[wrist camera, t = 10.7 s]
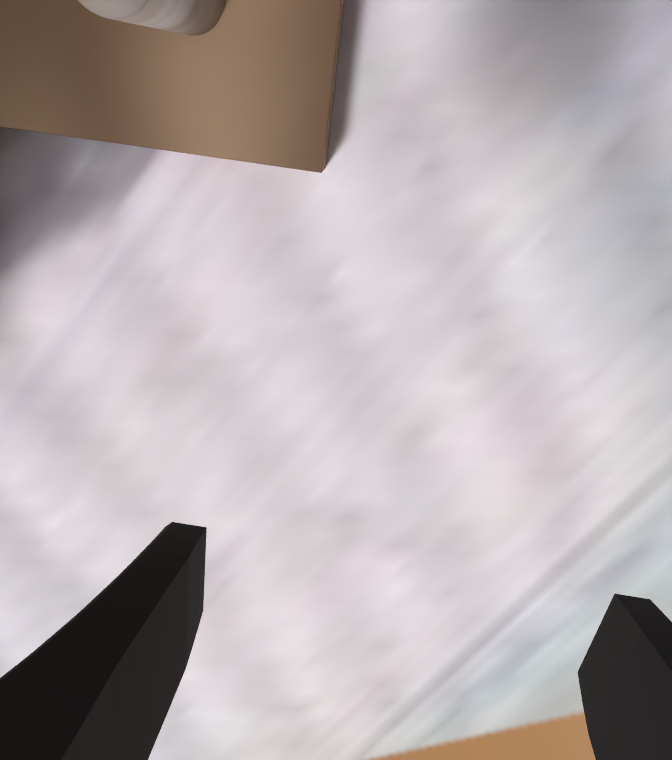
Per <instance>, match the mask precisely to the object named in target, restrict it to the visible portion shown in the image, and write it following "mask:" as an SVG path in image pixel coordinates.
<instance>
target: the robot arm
mask: <svg viewBox="0 0 672 760" xmlns="http://www.w3.org/2000/svg"><path fill="white" fill-rule="evenodd" d="M205 551H206V527H200V526H194V525H187V524H181V523H175V522H172V523H170V524H169V525H167V526H166V527H165V528H164V529H163V530H162V531H161V532H160V533H159V534H158V536H157V537H156V538H155V539H154V540H153V541H152V542H151V543H150V544H149V545H148V546H147V547H146V548H145V549H144V550H143V551H142V552H141V553H140V555H139V556H138V557H137V558H136V559H135V560H134V561H133V562H132V563H131V564H130V565H129V566H128V567H127V568H126V569H125V570H124V571H123V572H122V573H121V574H120V575H119V576H118V577H117V578H116V579H114V580H113V581H112V582H111V583H110V584H109V585H108V586H107V587H106V588H105V589H104V590H103V591H102V592H101V593H100V594H99V595H97V596H96V597H95V598H94V599H93V600H92V601H91V602H90V603H89V604H88V605H87V606H86V607H85V608H84V609H82V610H81V611H80V612H79V613H78V614H77V615H76V616H75V617H74V618H72V619H71V620H70V621H69V622H68V623H67V624H65V625H64V626H63V627H62V628H61V629H60V630H58V631H57V632H56V633H55V634H54V635H53V636H51V637H50V638H49V639H48V640H47V641H46V642H44V643H43V644H42V645H41V646H40V647H38V648H37V649H36V650H35V651H34V652H33V653H31V654H30V655H29V656H28V657H26V658H25V659H24V660H23V661H21V662H20V663H19V664H18V665H16V666H15V667H14V668H13V669H11V670H10V671H9V672H7V673H6V674H5V675H4V676H2V677H1V678H0V760H148V758H149V755H150V753H151V751H152V748H153V746H154V744H155V741H156V739H157V736H158V734H159V732H160V729H161V727H162V724H163V722H164V720H165V717H166V715H167V712H168V710H169V708H170V705H171V703H172V700H173V698H174V695H175V693H176V691H177V688H178V686H179V683H180V681H181V679H182V676H183V674H184V671H185V669H186V666H187V663H188V659H189V656H190V653H191V650H192V646H193V643H194V640H195V636H196V633H197V629H198V626H199V623H200V619H201V616H202V612H203V599H204V575H205ZM578 677H579V683H580V689H581V695H582V702H583V707H584V713H585V717H586V723H587V728H588V733H589V737H590V740H591V744H592V747H593V751H594V755H595V758H596V760H672V622H671V621H670V620H669V619H668V618H667V617H666V616H665V615H664V614H663V613H662V611H661V610H660V609H659V608H658V607H657V606H656V605H655V604H654V603H653V602H652V601H651V600H650V599H644V598H638V597H631V596H625V595H619V594H614V596H613V599H612V601H611V603H610V605H609V607H608V609H607V611H606V613H605V615H604V618H603V620H602V622H601V624H600V626H599V628H598V630H597V632H596V635H595V637H594V639H593V641H592V643H591V645H590V647H589V649H588V651H587V654H586V656H585V658H584V660H583V662H582V664H581V666H580V668H579V671H578Z"/></svg>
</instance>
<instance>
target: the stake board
mask: <svg viewBox="0 0 672 760" xmlns="http://www.w3.org/2000/svg"><path fill="white" fill-rule="evenodd" d="M343 6H344V0H0V126H1V127H8V128H15V129H22V130H29V131H36V132H43V133H50V134H56V135H63V136H70V137H77V138H84V139H91V140H98V141H105V142H112V143H119V144H126V145H133V146H140V147H147V148H154V149H160V150H167V151H174V152H181V153H188V154H195V155H202V156H209V157H216V158H223V159H230V160H237V161H244V162H251V163H258V164H265V165H271V166H278V167H285V168H292V169H299V170H306V171H313V172H320V173H322V172H323V170H324V169H325V168H326V159H327V150H328V141H329V132H330V123H331V114H332V105H333V96H334V87H335V78H336V69H337V60H338V51H339V42H340V33H341V24H342V15H343Z"/></svg>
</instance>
